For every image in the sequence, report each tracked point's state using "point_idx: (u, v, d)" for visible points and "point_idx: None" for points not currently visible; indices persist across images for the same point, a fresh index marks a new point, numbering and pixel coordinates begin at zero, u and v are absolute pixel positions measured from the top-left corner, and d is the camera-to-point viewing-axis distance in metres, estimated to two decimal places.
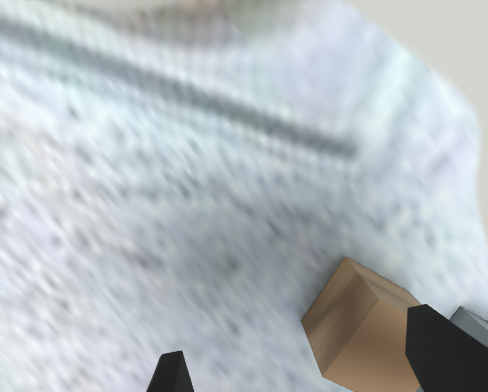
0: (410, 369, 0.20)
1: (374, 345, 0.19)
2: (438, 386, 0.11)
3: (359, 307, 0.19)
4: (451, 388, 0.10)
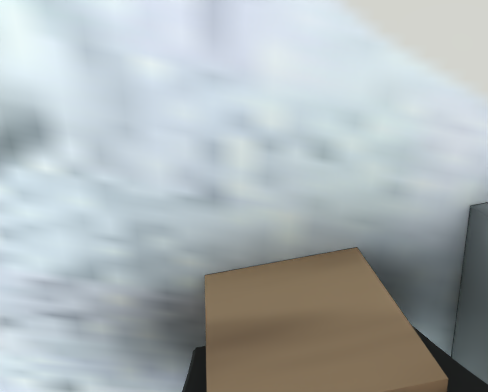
0: None
1: None
2: None
3: None
4: None
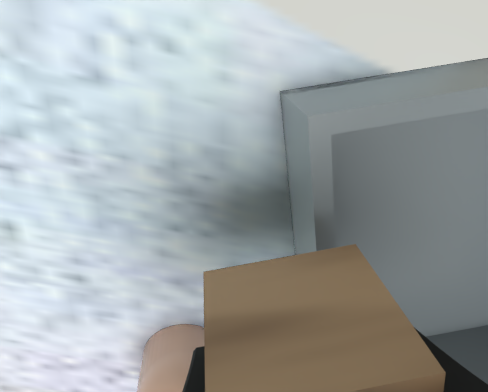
0: None
1: None
2: None
3: None
4: None
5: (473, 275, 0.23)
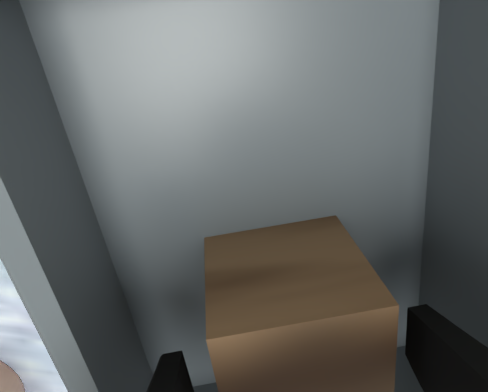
0: (357, 380, 0.11)
1: (267, 389, 0.11)
2: (438, 386, 0.11)
3: None
4: (451, 388, 0.10)
5: None
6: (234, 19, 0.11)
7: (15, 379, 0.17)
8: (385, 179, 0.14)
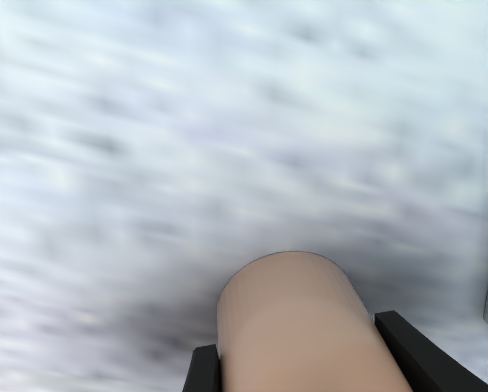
0: None
1: None
2: None
3: None
4: None
5: None
6: None
7: None
8: None
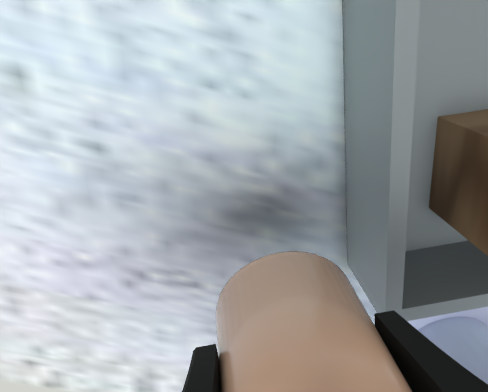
0: None
1: None
2: None
3: None
4: None
5: None
6: None
7: None
8: None
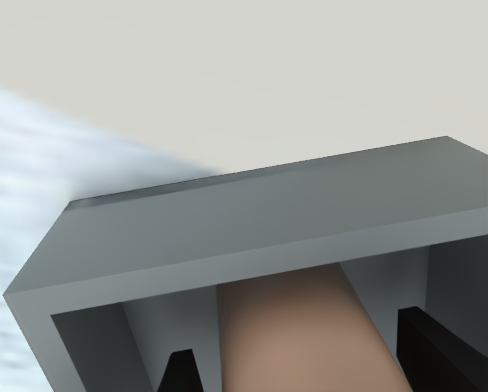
0: None
1: None
2: (428, 388, 0.11)
3: None
4: (440, 390, 0.10)
5: None
6: None
7: None
8: (387, 331, 0.16)
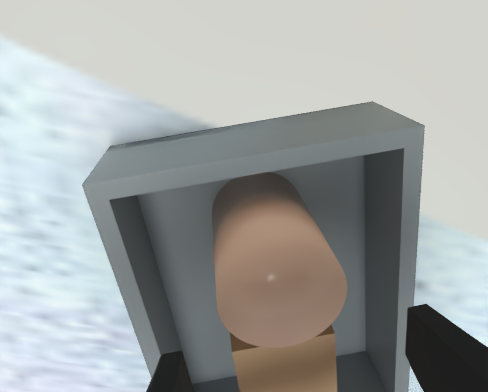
0: (315, 374, 0.19)
1: (264, 379, 0.19)
2: (438, 386, 0.11)
3: None
4: (451, 388, 0.10)
5: None
6: None
7: None
8: (338, 249, 0.22)
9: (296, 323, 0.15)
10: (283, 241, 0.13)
